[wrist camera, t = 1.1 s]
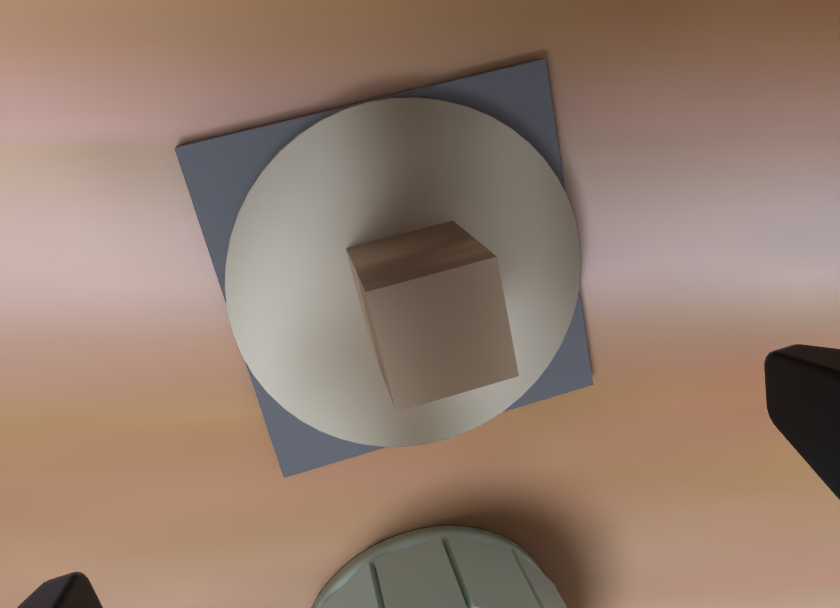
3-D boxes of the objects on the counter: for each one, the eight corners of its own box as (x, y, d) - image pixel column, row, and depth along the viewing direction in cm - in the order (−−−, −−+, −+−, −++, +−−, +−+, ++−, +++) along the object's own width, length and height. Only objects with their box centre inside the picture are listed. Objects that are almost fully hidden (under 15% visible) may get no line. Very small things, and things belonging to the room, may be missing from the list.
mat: (540, 58, 20) (545, 58, 19) (587, 379, 23) (592, 384, 23) (176, 146, 19) (174, 147, 18) (283, 470, 22) (283, 477, 22)
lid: (546, 58, 19) (625, 57, 15) (592, 384, 23) (668, 457, 19) (174, 147, 18) (147, 173, 14) (283, 477, 22) (288, 578, 17)
